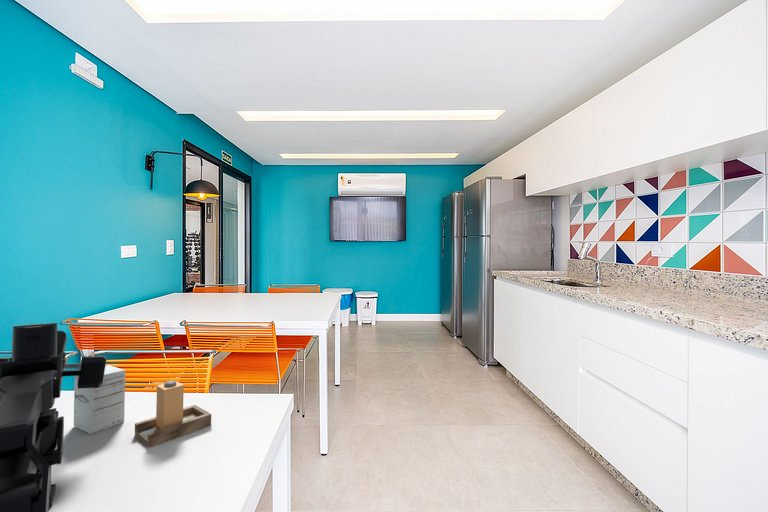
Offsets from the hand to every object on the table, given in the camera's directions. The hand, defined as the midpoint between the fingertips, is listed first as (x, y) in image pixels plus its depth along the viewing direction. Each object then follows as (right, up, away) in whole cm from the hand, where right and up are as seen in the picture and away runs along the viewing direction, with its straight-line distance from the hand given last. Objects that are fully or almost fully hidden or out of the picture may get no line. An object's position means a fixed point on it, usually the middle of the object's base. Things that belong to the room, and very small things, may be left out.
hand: (52, 366), depth 79 cm
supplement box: (+5, -16, +7) cm, 18 cm away
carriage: (+23, -14, +4) cm, 27 cm away
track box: (+24, -16, +4) cm, 29 cm away
